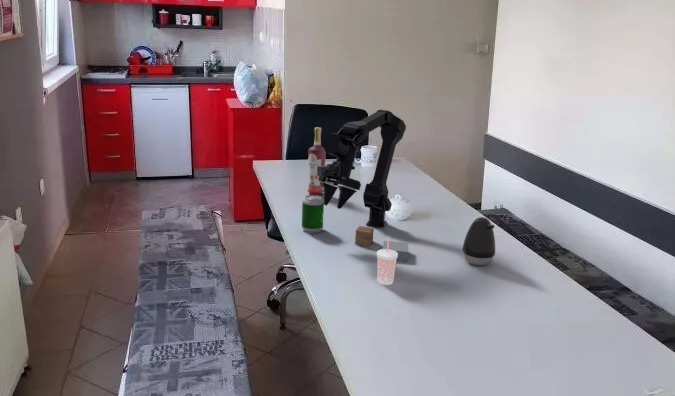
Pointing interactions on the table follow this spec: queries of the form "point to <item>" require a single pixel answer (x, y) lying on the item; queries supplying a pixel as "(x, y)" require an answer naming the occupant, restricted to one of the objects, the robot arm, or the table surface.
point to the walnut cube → (364, 236)
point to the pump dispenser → (479, 242)
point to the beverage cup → (386, 265)
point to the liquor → (316, 163)
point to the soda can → (312, 213)
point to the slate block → (398, 249)
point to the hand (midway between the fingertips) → (331, 206)
